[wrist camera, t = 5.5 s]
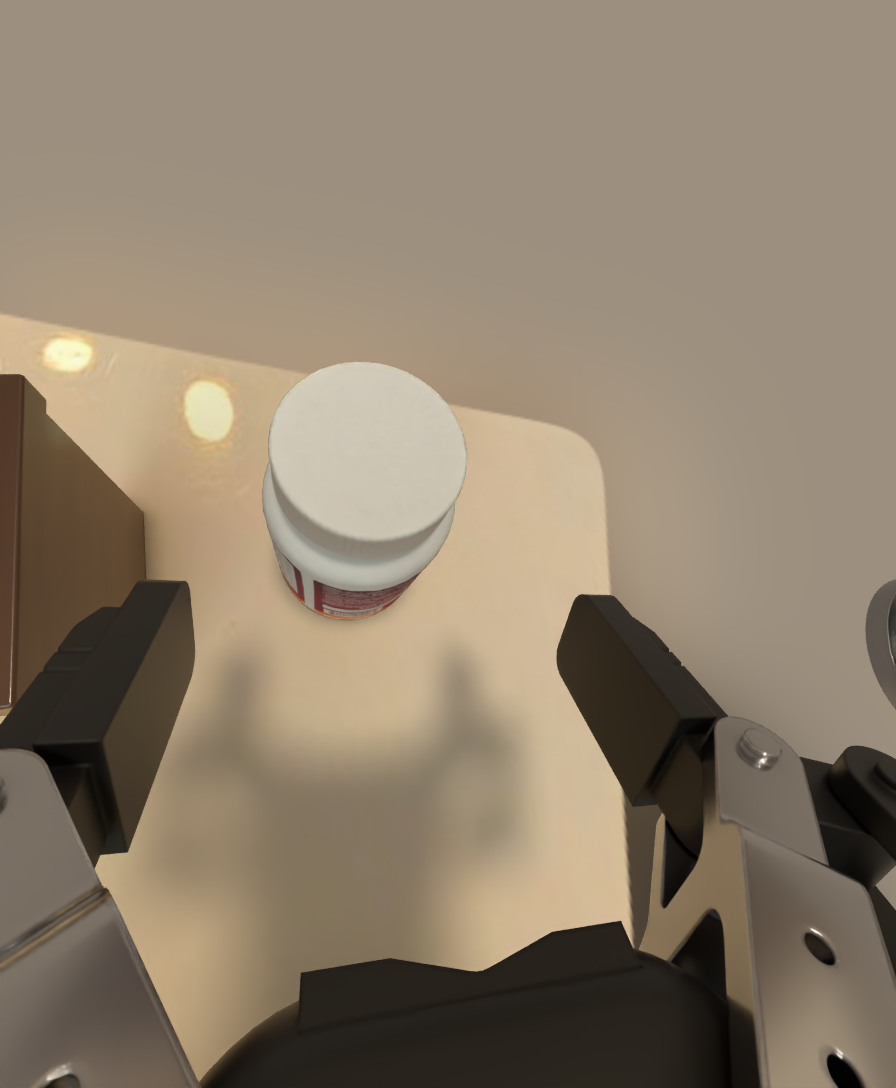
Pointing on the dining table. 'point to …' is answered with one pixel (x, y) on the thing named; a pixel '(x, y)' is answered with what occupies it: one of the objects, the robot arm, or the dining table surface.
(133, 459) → the dining table surface
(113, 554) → the brown t-shaped panel
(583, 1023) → the robot arm
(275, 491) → the pill bottle
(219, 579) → the dining table surface
